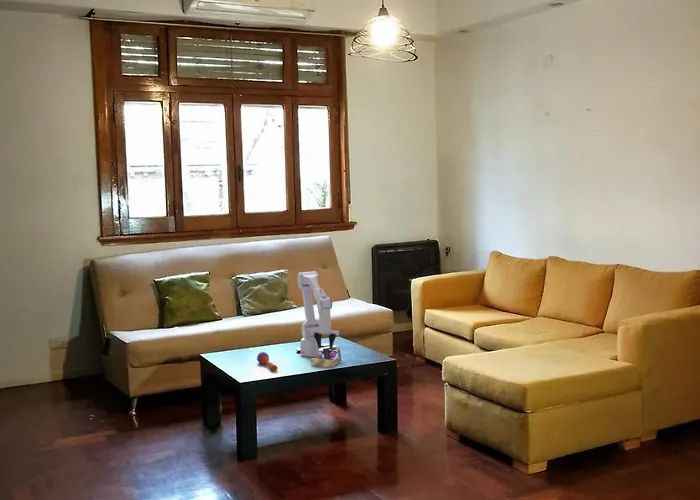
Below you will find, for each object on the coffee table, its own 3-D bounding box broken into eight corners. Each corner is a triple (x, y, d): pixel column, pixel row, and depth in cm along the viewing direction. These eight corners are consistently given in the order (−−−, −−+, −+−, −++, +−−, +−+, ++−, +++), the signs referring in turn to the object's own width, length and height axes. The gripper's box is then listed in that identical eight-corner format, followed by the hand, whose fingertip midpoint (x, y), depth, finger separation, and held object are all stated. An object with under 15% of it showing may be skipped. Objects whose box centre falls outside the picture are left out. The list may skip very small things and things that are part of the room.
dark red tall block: (323, 348, 390) (339, 346, 393) (320, 349, 394) (336, 347, 398) (325, 361, 388) (341, 359, 392) (322, 362, 393) (338, 360, 397)
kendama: (267, 364, 371) (254, 352, 388) (269, 376, 372) (256, 363, 390) (278, 361, 373) (265, 349, 391) (281, 372, 375) (267, 359, 392)
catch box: (311, 365, 382) (310, 358, 382) (319, 359, 393) (319, 353, 392) (331, 367, 378) (331, 360, 378) (339, 361, 389) (339, 354, 388)
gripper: (308, 322, 382) (309, 349, 383) (335, 324, 377) (335, 351, 378) (313, 319, 388) (314, 345, 390) (340, 321, 383) (341, 347, 385)
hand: (325, 348), depth 385 cm, fingers open, 5 cm apart
